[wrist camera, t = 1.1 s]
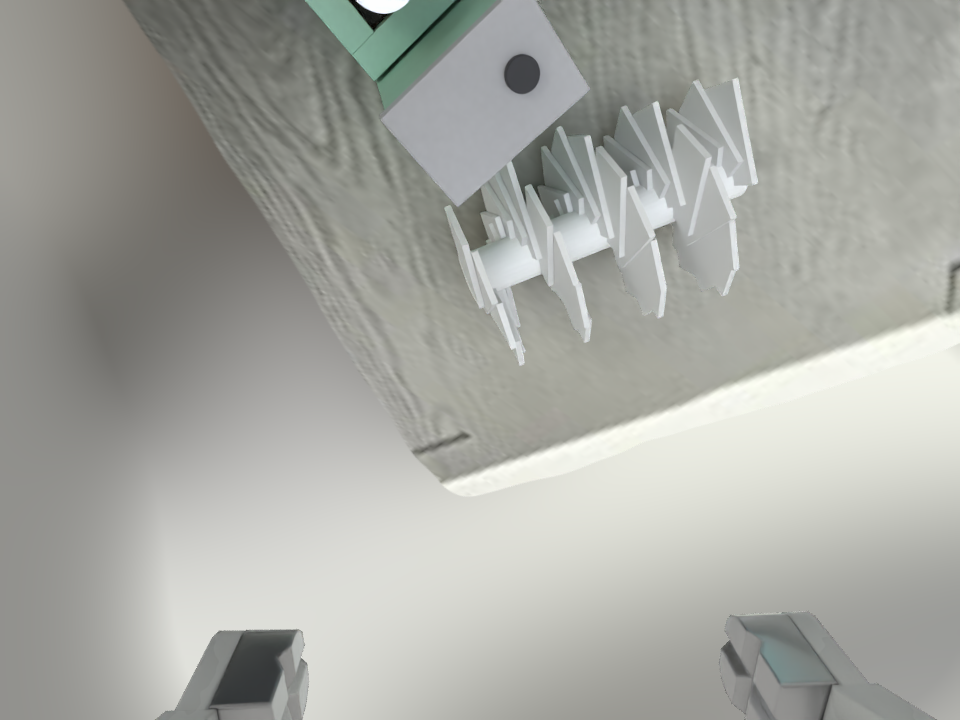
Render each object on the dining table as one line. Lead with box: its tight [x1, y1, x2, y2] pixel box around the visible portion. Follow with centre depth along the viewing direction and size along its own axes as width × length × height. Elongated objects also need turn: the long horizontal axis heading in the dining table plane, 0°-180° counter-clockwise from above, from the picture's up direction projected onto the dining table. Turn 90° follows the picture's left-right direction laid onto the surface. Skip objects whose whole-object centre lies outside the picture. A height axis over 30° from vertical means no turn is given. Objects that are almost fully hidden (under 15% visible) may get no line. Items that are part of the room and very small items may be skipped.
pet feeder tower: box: [376, 0, 590, 207], centre depth 40 cm, size 7×11×18 cm, turn 129°
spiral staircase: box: [444, 78, 758, 366], centre depth 48 cm, size 18×18×25 cm
